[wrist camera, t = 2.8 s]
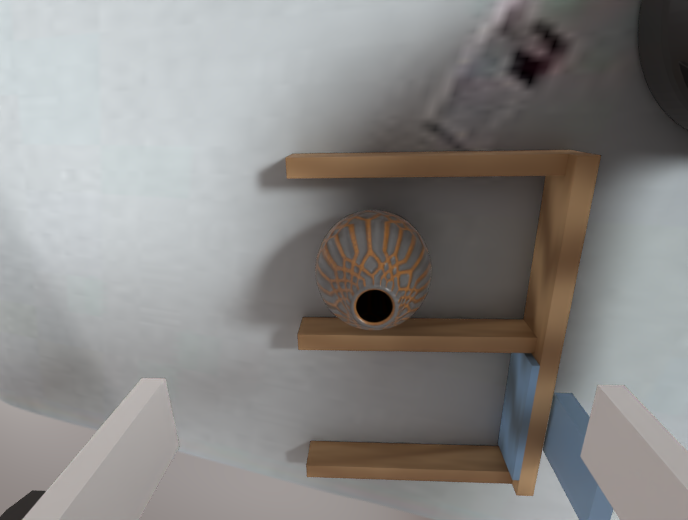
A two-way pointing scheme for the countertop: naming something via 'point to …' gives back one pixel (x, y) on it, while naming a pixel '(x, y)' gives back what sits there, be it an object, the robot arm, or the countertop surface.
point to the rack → (470, 334)
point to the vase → (373, 270)
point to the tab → (573, 458)
